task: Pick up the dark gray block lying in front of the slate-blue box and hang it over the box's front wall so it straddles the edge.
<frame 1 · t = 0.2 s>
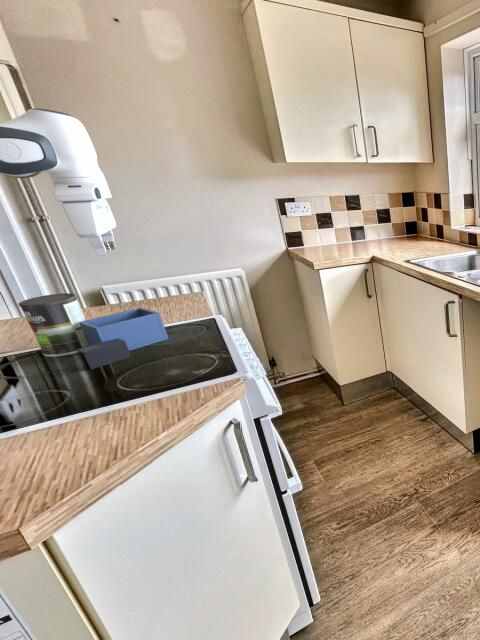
hand: (107, 252, 101), 26 cm above the worktop, tool pointing down, fingers open, 8 cm apart
dark gray block: (108, 361, 105), on the worktop
coffee can: (71, 349, 113), on the worktop
blue box: (130, 344, 115), on the worktop
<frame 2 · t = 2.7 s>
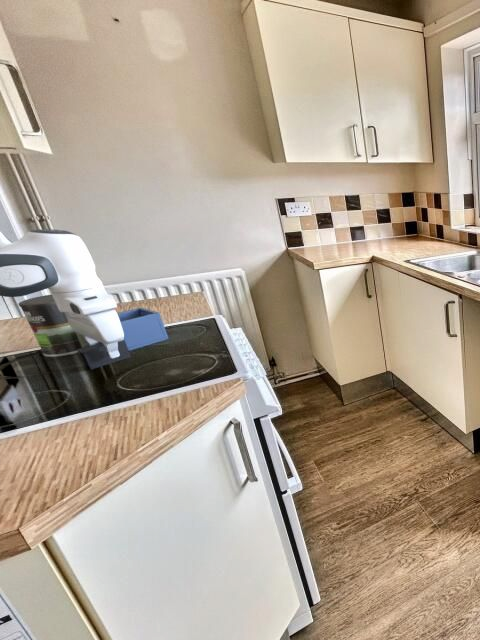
hand: (106, 353, 104), 2 cm above the worktop, tool pointing down, fingers open, 8 cm apart
nothing on the worktop moved.
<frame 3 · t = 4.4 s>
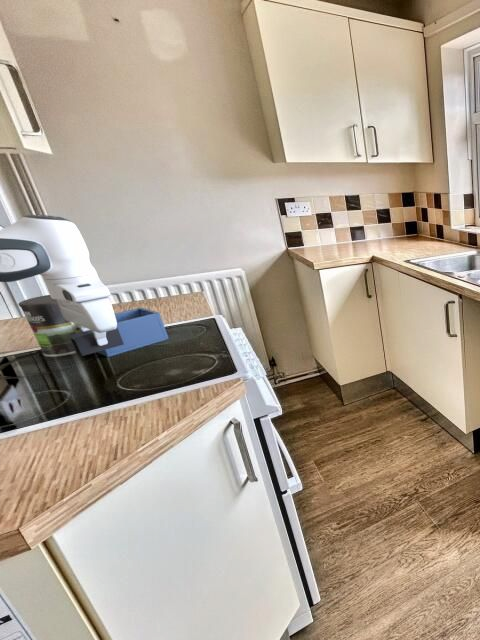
hand: (98, 342, 103), 5 cm above the worktop, tool pointing down, fingers closed on dark gray block, 4 cm apart
dark gray block: (100, 348, 103), point 4 cm above the worktop, touching gripper
everything else where it was.
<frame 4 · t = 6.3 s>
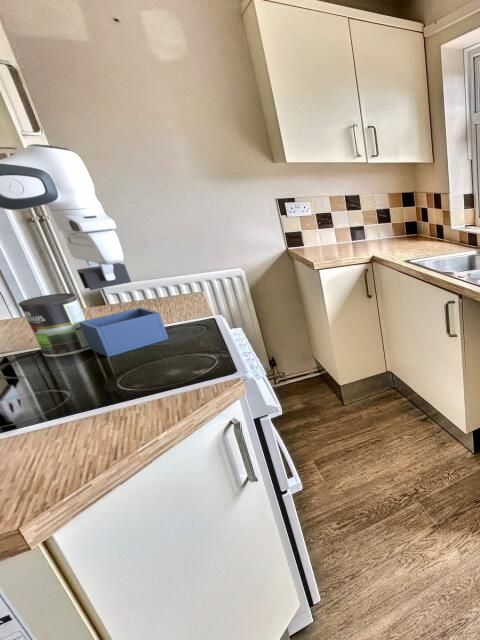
hand: (105, 278, 104), 19 cm above the worktop, tool pointing down, fingers closed on dark gray block, 4 cm apart
dark gray block: (108, 285, 105), point 18 cm above the worktop, touching gripper
everything else where it was.
when the fingers open (5 cm above the worktop, at t = 9.3 s): dark gray block stays where it is, resting on blue box.
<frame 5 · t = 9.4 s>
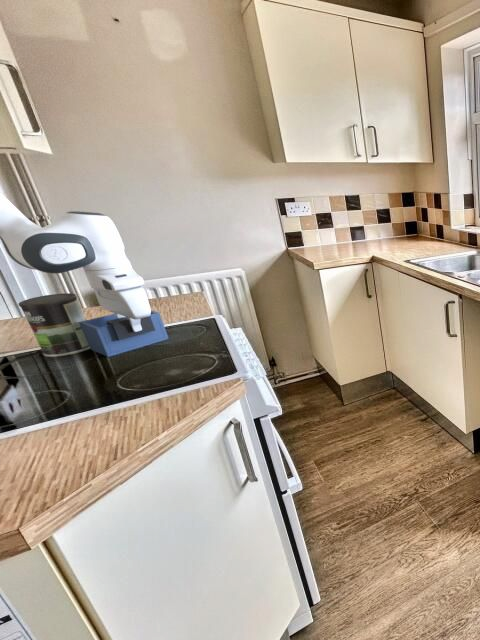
hand: (132, 329, 111), 5 cm above the worktop, tool pointing down, fingers open, 4 cm apart
dark gray block: (134, 334, 112), point 4 cm above the worktop, touching blue box
everything else where it was.
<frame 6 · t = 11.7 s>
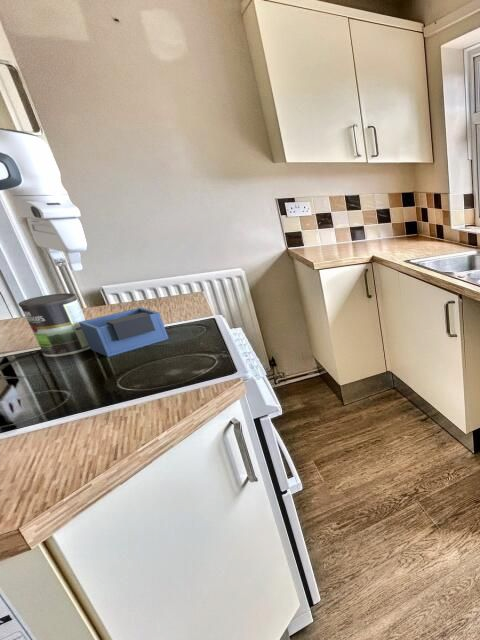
hand: (69, 268, 102), 22 cm above the worktop, tool pointing down, fingers open, 8 cm apart
nothing on the worktop moved.
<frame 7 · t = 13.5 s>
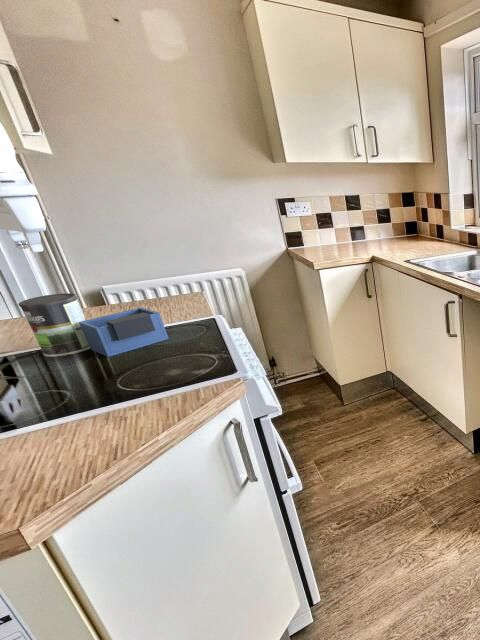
hand: (30, 250, 98), 27 cm above the worktop, tool pointing down, fingers open, 8 cm apart
nothing on the worktop moved.
at the end: dark gray block inside the target area in the blue box (0.1 cm from its centre), point 3.8 cm above the blue box's base; dark gray block touching blue box; dark gray block tilted 0° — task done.
